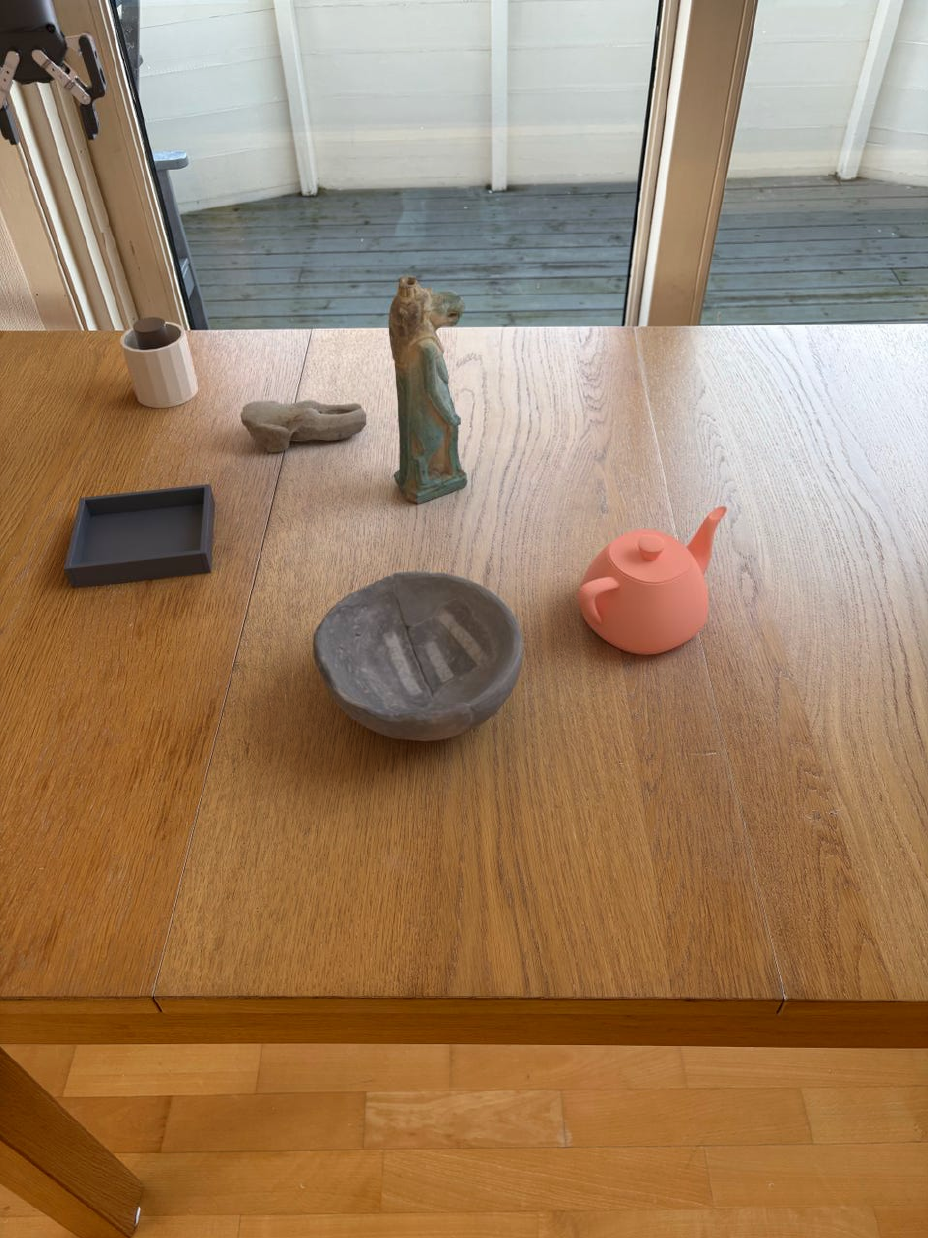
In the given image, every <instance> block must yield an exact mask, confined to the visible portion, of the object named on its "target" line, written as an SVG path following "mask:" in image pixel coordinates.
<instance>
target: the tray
mask: <svg viewBox="0 0 928 1238" xmlns="http://www.w3.org/2000/svg"><path fill="white" fill-rule="evenodd" d="M215 509H216V501H215V498H214V493H213V489H212V486H211V484H210V483H206V484H196V485H187V486H178V487H168V488H158V489H149V490H139V491H131V492H130V491H129V492H120V493H112V494H103V495H94V496H86V497H85V496H82V497H79V502H78V506H77V509H76V514H75V520H74V523H73V528H72V532H71V535H70V541H69V545H68V549H67V553H66V558H65V563H64V567H63V571H64V573H65V575H66V577H67V580H68V583H69V585H70V587H71V589H81V588H87V587H88V588H89V587H97V586H106V585H115V584H122V583H132V582H142V581H148V580H149V581H150V580H158V579H165V578H166V579H167V578H174V577H175V578H177V577H184V576H192V575H199V574H201V575H202V574H210V573H212V563H213V560H212V559H213V544H214V542H213V541H214V528H215V511H216V510H215Z"/></svg>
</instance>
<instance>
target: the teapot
mask: <svg viewBox="0 0 928 1238" xmlns="http://www.w3.org/2000/svg"><path fill="white" fill-rule="evenodd" d="M727 511H728V507H727V506H724V505H722V506H718V507H716V508H715V509H713V510H711V511H710V512H709V513H708V515H707V516H705V518H704V520H703V521H702V522H701V524H700V526H699V527H698V529H697V531H696V532H695V534H694V536H693V537H692V539H691V540H690V542H689V543H688V544H687V545H685V544H684V543H683V542H682V541H680V540H679V539H677V538H675V537H674V536H673V535H670V534H668V533H666V532H664V531H660V530H656V529H650V528H640V529H635V530H631V531H628V532H625V533H623V534H621V535H619V536H617V537H616V538H614V539H613V540H612V541H611V542H609V543H608V544H607V545H606V546H604V548H603V549H602V550H601V551H600V552H599V553H598V554H597V555H596V556H595V557H594V559H593V560H592V561H591V562H590V564H589V565H588V567H587V569H586V570H585V572H584V574H583V577H582V579H581V582H580V585H579V589H578V592H577V602H578V608H579V610H580V613H581V615H582V617H583V619H584V620H585V622H586V623H587V625H588V626H589V627H590V628H591V629H592V630H593V632H595V633H596V634H597V635H598V636H599V637H600V638H602V639H603V640H604V641H605V642H606V643H608V644H610V645H612V646H614V647H616V648H617V649H619V650H622V651H625V652H628V653H630V654H635V655H643V656H645V655H646V656H647V655H650V656H651V655H657V654H660V653H661V654H662V653H665V652H667V651H671V650H673V649H675V648H677V647H680V646H681V645H683V644H685V643H687V642H688V641H689V640H692V638H694V637H695V636H696V635H697V634H698V633H699V632H700V631H701V630H702V628H703V627H704V625H705V624H706V622H707V619H708V615H709V606H710V603H709V602H710V600H709V592H708V591H709V590H708V586H707V583H706V580H705V577H704V575H705V574H706V572H707V570H708V568H709V567H710V563H711V559H712V553H713V545H714V538H715V533H716V530H717V527H718V526H719V524H720V522H721V520H722V519H724V516H725V515H726V513H727Z"/></svg>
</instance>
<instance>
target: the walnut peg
mask: <svg viewBox="0 0 928 1238" xmlns="http://www.w3.org/2000/svg"><path fill="white" fill-rule="evenodd" d="M165 322H166V320H165V319H164V318H162V317H159V316H158V317H157V316H150V317H144V318H141V319H138V320H136V322H134V323H133V325H132V328H133V330H134V333H135V337H136V340H137V344H138V347H139V350H153V349H159V348H162V347H166V346H168V345H170V344H171V342H170V338H169V335H168V331H167V327H166V323H165Z"/></svg>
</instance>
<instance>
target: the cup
mask: <svg viewBox="0 0 928 1238" xmlns="http://www.w3.org/2000/svg"><path fill="white" fill-rule="evenodd" d="M165 323H166V327H167V331H168V335H169V338H170V342H171V344H170V345H168V346H166V347H162V348H159V349H153V350H139V347H138V344H137V340H136V337H135V333H134V330H133V327H132V328H129V329H128V330H126V331H125V332H124V333H123V334H122V335H121V336H120V340H119V344H120V348H121V351H122V355H123V358H124V361H125V364H126V369H127V371H128V375H129V379H130V382H131V385H132V389H133V391H134V394H135V396H136V399H137V401H138V402H139V403H140V404H141V405H143V406H145V407H148V408H153V409H166V408H168V409H169V408H173V407H177V406H180V405H182V404H185V403H187V402H189V401H190V400H191V399H194V397H195V396H196V395H197V393H198V391H199V385H198V378H197V374H196V370H195V366H194V362H193V357H192V353H191V350H190V345H189V342H188V337H187V333H186V330H185V328H183V326H182V325H180V324H177V323H175V322H172V321H165Z"/></svg>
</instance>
